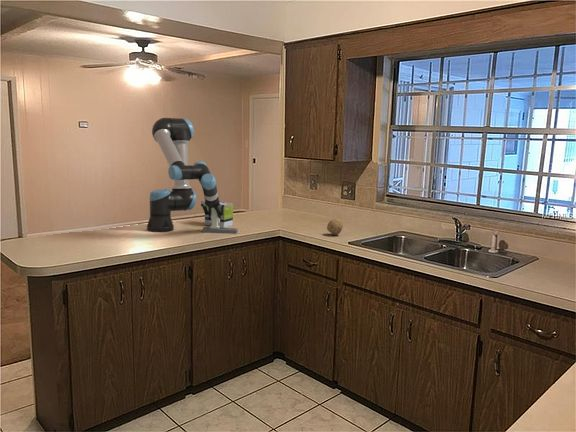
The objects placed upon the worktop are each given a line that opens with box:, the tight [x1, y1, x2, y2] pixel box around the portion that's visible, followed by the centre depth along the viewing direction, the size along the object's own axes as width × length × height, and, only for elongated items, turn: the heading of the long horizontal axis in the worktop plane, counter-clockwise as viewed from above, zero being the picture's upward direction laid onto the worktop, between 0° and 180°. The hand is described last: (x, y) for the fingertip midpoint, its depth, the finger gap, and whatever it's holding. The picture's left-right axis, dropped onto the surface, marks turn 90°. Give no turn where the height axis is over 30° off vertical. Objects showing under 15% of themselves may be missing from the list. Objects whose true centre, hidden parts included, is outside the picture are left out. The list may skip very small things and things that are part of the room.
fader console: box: [201, 226, 239, 235], centre depth 274 cm, size 20×6×2 cm, turn 89°
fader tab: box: [209, 208, 221, 229], centre depth 273 cm, size 5×4×13 cm
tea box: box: [204, 201, 234, 228], centre depth 293 cm, size 15×10×15 cm, turn 62°
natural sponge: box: [326, 218, 344, 236], centre depth 276 cm, size 9×9×10 cm
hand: (215, 220), depth 277 cm, fingers closed on fader tab, 3 cm apart
